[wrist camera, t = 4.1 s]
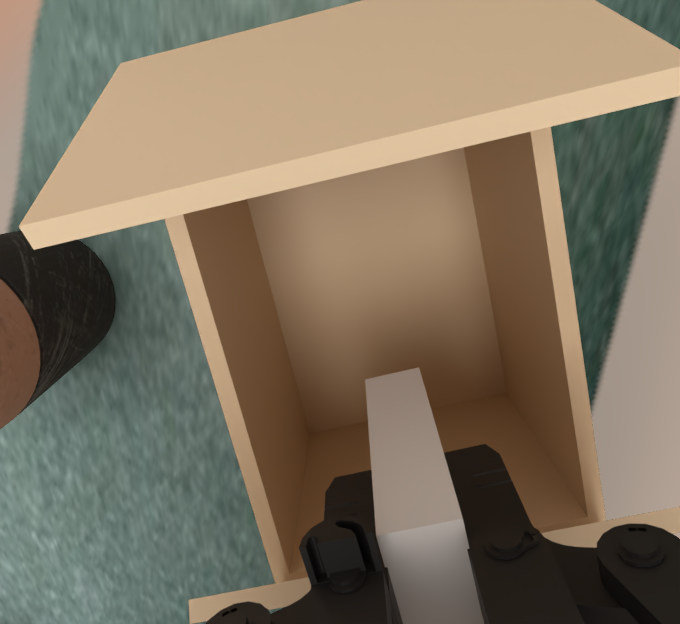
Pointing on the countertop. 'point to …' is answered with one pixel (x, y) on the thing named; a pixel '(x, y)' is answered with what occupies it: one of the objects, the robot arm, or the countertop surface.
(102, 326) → the travel mug
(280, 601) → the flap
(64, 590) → the countertop surface
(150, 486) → the countertop surface
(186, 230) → the carton
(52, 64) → the countertop surface
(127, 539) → the countertop surface
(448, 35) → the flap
